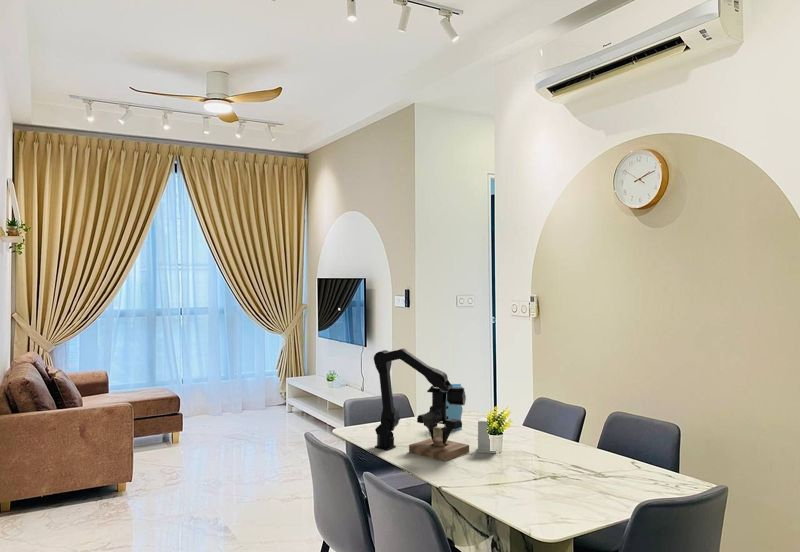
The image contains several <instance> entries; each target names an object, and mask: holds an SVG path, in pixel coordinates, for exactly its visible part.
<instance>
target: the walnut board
mask: <svg viewBox="0 0 800 552" xmlns="http://www.w3.org/2000/svg"><path fill="white" fill-rule="evenodd" d="M408 453H410V454H415V455H419V456H423V457H426V458H431V459H435V460H439V461H444V462H448V461H450V460H452V459H456V458H457V457H460V456H464V455H466V454H468V453H470V444H466V443H462V442H457V441H453V440H452V441H451V440H448V439H447V441H446V444H445V446H444V447H441V448H439V447H435V446H433V440H432V438H427V439H424V440H421V441H417V442H413V443H411V444H409V445H408Z"/></svg>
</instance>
